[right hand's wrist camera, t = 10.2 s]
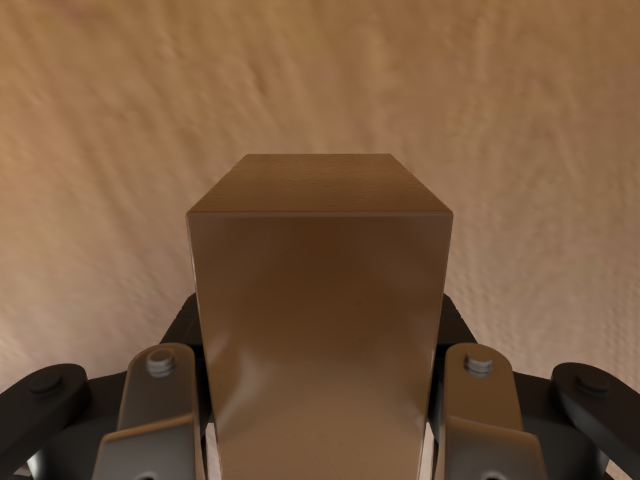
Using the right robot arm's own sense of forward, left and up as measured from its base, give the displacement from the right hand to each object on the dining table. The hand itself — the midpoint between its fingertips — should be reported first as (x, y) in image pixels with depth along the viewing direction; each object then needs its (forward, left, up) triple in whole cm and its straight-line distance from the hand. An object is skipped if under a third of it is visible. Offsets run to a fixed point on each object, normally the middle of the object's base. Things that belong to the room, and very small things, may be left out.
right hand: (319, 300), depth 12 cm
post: (+21, -24, -2) cm, 32 cm away
